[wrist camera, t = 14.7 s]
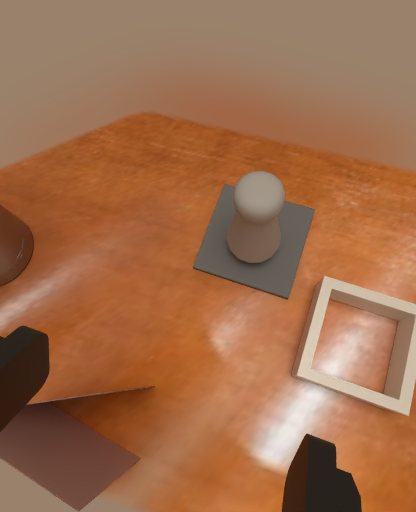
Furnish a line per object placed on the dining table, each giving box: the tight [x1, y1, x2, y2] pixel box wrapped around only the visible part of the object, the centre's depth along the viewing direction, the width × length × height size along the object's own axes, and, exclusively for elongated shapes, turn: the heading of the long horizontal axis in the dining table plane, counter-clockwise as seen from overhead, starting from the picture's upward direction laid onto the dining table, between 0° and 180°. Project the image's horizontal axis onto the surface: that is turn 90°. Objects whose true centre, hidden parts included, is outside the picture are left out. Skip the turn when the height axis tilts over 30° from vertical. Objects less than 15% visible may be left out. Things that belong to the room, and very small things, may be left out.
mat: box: [193, 184, 315, 299], centre depth 42 cm, size 11×11×1 cm
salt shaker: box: [226, 171, 285, 263], centre depth 36 cm, size 6×6×13 cm
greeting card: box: [0, 386, 155, 511], centre depth 31 cm, size 11×7×15 cm, turn 63°
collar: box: [291, 276, 416, 416], centre depth 36 cm, size 10×10×4 cm
